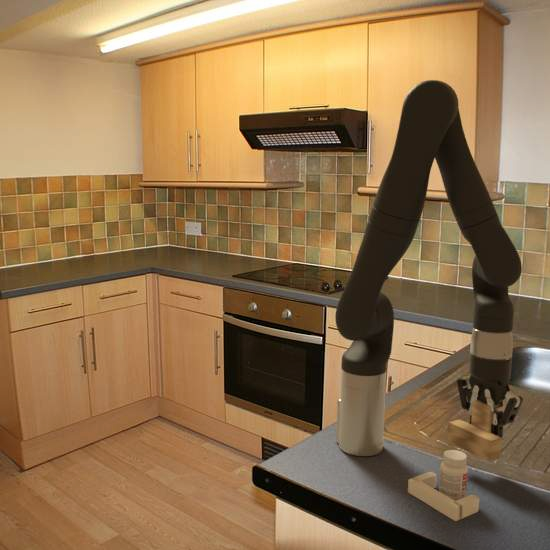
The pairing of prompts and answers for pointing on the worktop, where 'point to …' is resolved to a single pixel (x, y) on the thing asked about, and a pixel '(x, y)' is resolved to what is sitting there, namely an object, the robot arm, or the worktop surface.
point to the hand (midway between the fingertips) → (485, 436)
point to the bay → (441, 497)
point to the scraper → (476, 433)
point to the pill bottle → (453, 474)
